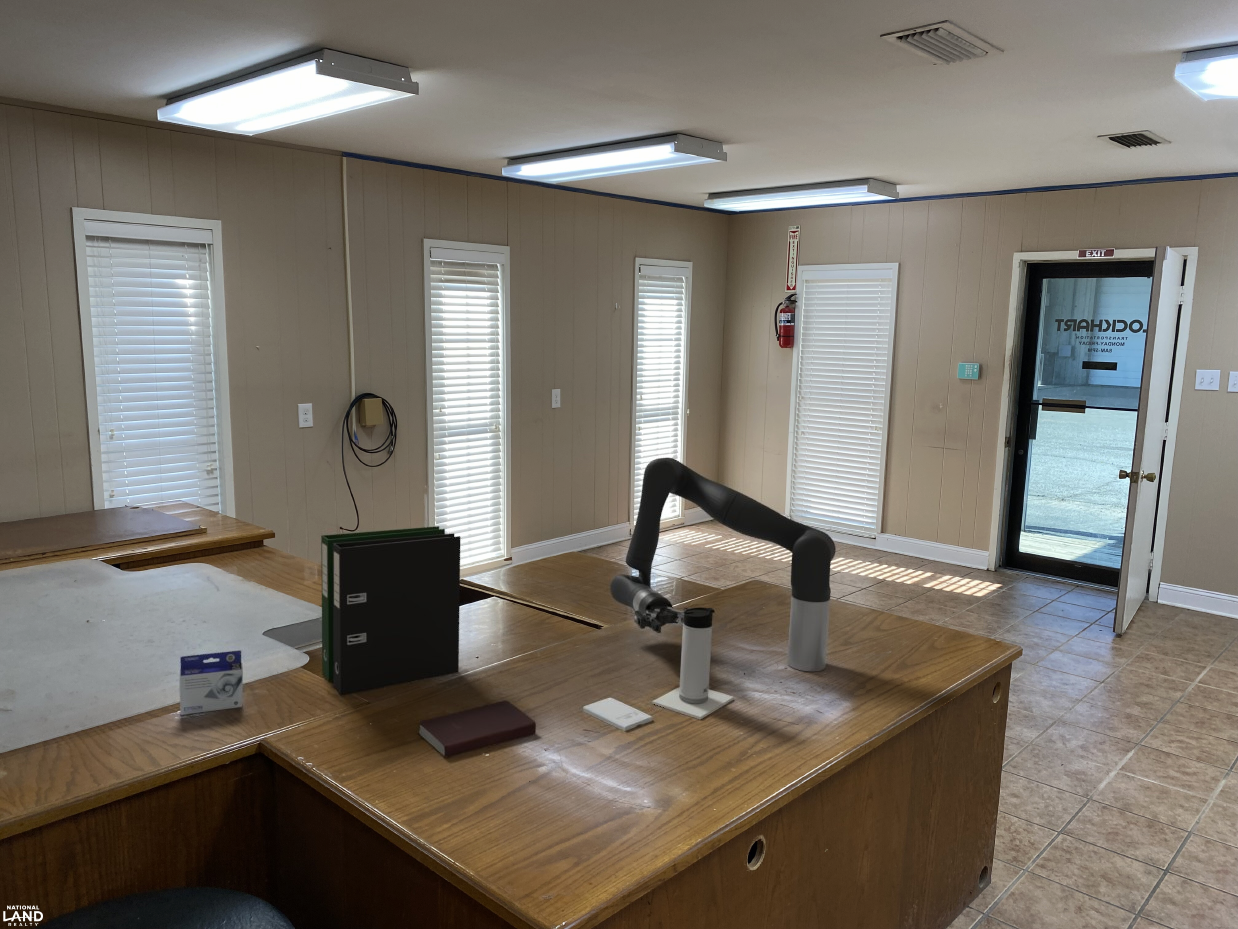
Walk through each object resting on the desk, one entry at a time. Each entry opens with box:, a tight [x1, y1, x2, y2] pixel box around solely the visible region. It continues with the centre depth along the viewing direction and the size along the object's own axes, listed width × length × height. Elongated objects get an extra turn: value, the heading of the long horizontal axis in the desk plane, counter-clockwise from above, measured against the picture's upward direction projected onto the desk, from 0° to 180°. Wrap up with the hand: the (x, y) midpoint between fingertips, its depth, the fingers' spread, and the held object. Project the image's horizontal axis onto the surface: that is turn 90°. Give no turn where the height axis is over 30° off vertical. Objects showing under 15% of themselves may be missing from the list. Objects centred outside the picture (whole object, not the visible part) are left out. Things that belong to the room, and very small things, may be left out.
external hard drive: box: [582, 697, 654, 732], centre depth 176 cm, size 2×8×12 cm
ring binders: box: [320, 525, 462, 697], centre depth 192 cm, size 27×15×32 cm, turn 124°
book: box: [417, 700, 537, 759], centre depth 165 cm, size 12×19×3 cm, turn 126°
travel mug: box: [679, 606, 716, 704], centre depth 184 cm, size 6×7×20 cm
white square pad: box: [651, 686, 734, 720], centre depth 185 cm, size 14×12×1 cm
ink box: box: [179, 649, 244, 716], centre depth 171 cm, size 12×2×12 cm, turn 117°
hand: (677, 627), depth 193 cm, fingers open, 8 cm apart
